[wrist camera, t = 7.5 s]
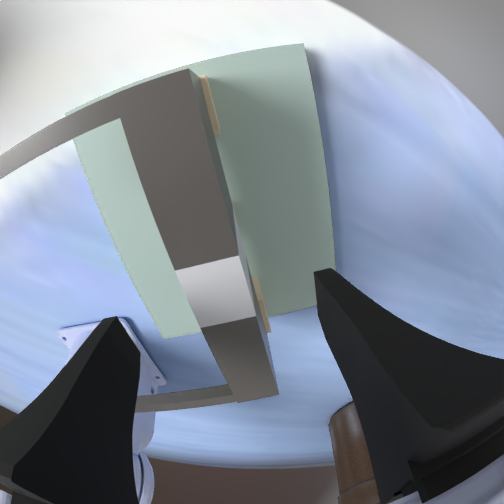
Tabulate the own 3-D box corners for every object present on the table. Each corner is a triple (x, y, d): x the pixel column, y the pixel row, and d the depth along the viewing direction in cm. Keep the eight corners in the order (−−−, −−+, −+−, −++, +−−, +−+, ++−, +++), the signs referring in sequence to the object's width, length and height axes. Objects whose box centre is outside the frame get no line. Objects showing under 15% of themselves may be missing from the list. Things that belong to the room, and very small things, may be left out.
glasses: (266, 333, 20) (278, 394, 15) (129, 358, 20) (118, 414, 16) (199, 77, 12) (188, 68, 7) (21, 152, 12) (-36, 183, 7)
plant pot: (360, 437, 43) (385, 511, 29) (290, 433, 37) (311, 530, 23) (431, 384, 37) (472, 465, 23) (372, 370, 31) (421, 488, 17)
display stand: (331, 288, 24) (348, 321, 20) (165, 326, 24) (160, 362, 20) (296, 47, 14) (317, 36, 11) (75, 111, 15) (44, 118, 11)
